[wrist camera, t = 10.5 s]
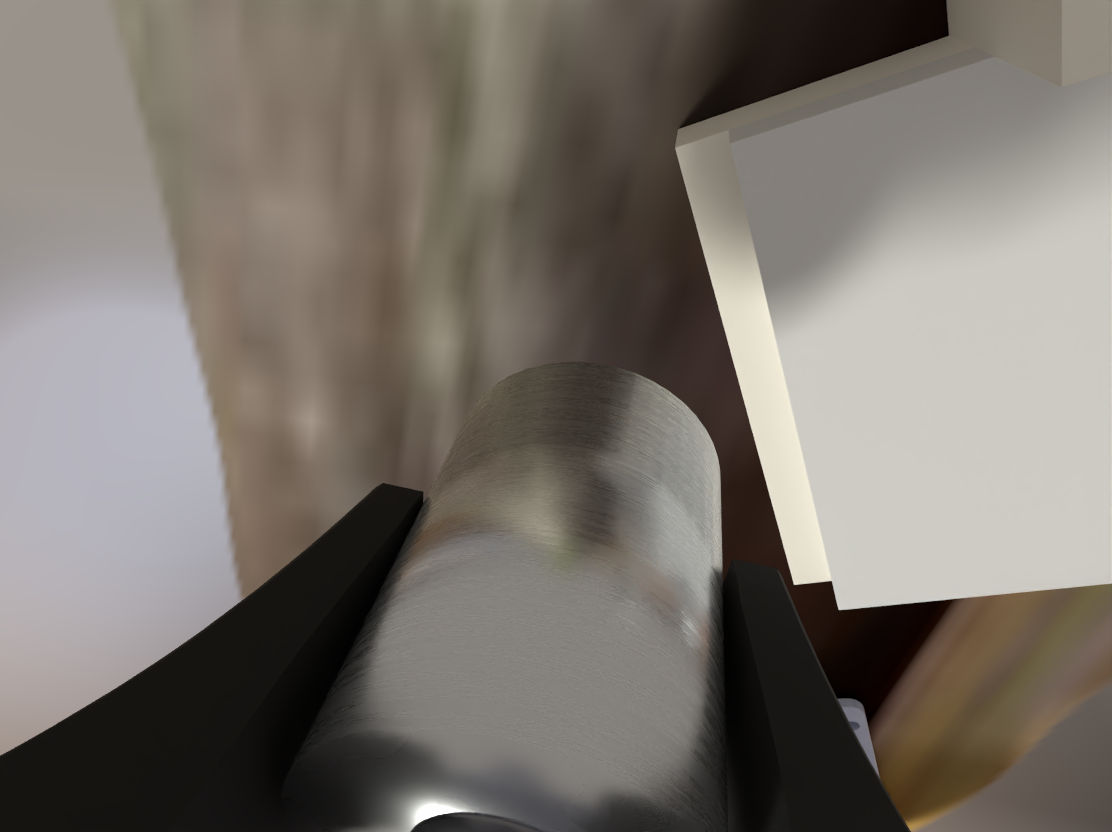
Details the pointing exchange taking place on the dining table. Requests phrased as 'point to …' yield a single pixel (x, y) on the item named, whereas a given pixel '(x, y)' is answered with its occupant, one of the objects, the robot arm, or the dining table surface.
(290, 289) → the dining table surface
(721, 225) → the scale
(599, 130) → the dining table surface
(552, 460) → the cylinder
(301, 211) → the dining table surface
